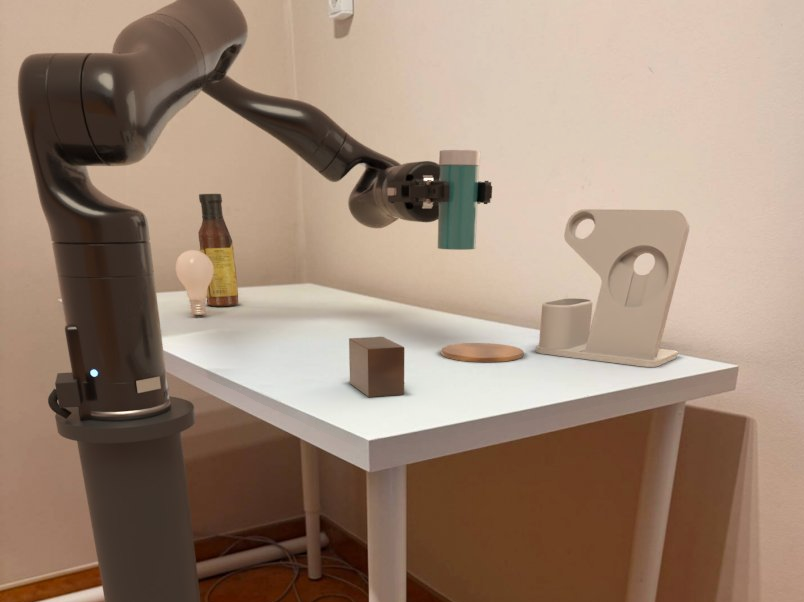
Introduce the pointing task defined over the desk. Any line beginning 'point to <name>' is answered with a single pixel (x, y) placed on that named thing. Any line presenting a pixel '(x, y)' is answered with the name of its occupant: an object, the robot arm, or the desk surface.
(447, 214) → the salt shaker
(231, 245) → the sauce bottle
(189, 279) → the lightbulb
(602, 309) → the phone holder
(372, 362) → the walnut block
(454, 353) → the cork coaster
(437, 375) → the desk surface
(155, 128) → the robot arm
